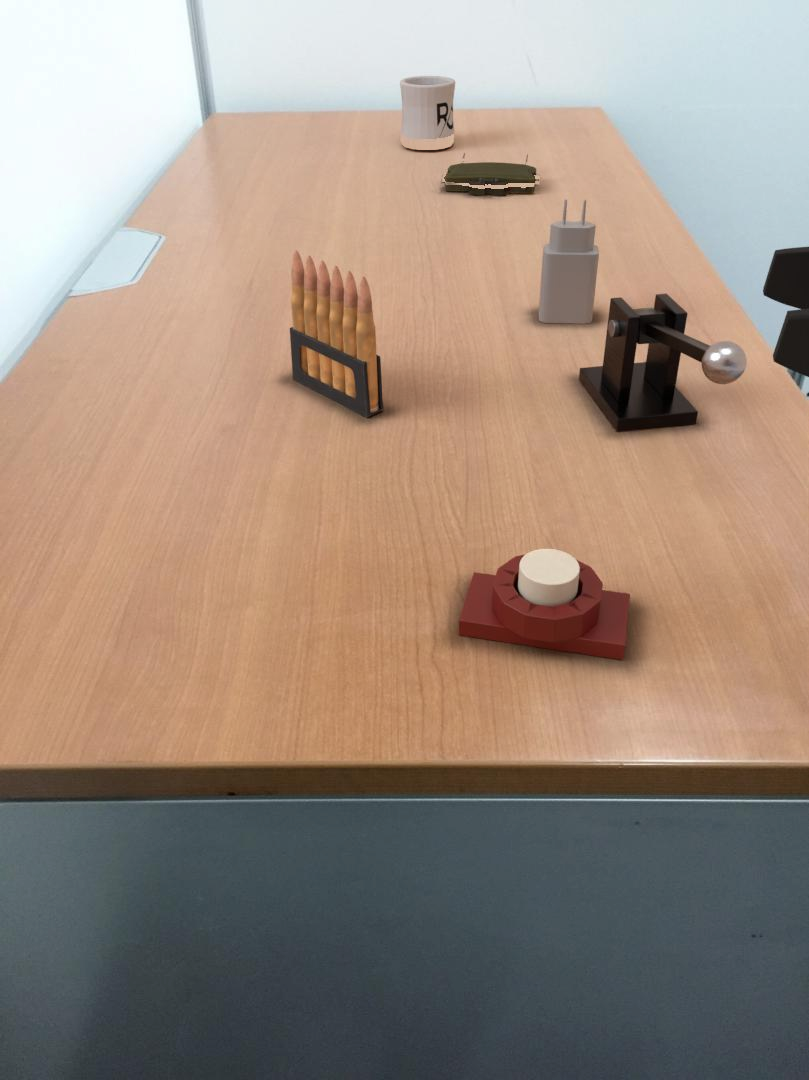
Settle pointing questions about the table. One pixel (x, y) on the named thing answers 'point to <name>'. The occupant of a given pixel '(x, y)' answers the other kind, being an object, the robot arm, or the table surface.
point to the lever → (693, 347)
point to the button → (548, 577)
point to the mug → (427, 107)
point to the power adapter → (569, 272)
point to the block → (546, 614)
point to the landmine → (490, 177)
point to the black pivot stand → (639, 373)
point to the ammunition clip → (334, 337)
